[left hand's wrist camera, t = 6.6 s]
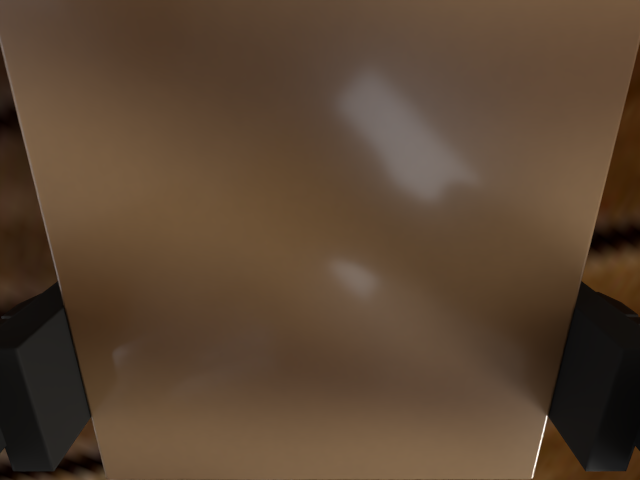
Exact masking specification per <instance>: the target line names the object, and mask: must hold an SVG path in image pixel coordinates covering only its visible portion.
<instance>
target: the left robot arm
mask: <svg viewBox="0 0 640 480" xmlns="http://www.w3.org/2000/svg"><path fill="white" fill-rule="evenodd" d="M90 417H91V414H90V410H89V406H88V402H87V398H86V394H85V390H84V386H83V381H82V377H81V373H80V369H79V365H78V361H77V357H76V353H75V349H74V345H73V341H72V337H71V332H70V328H69V324H68V320H67V316H66V312H65V308H64V304H63V300H62V296H61V292H60V288H59V283H58V282H56V283H55V284H54V285H52V286H51V287H50V288H48V289H47V290H46V291H45V292H43V293H42V294H39V295H37V296H35V297H33V298H31V299H28V300H26V301H24V302H22V303H20V304H18V305H17V306H15V307H14V308H13V309H11V310H10V311H8V312H7V313H6V314H4V315H3V316H2V319H0V453H1V451H2V450H3V449H4V448H5V449H6V452H7V455H8V457H9V460H10V463H11V466H12V469H13V471H54V470H55V469H56V467H57V466H58V464H59V463H60V461H61V460H62V459H63V457H64V456H65V454H66V453H67V451H68V450H69V448H70V447H71V445H72V444H73V442H74V441H75V439H76V438H77V437H78V435H79V434H80V432H81V431H82V429H83V428H84V426H85V425H86V423H87V422H88V420H89V419H90ZM548 417H549V418H550V420H551V421H552V423H553V424H554V425H555V427H556V428H557V430H558V431H559V433H560V434H561V436H562V437H563V439H564V440H565V442H566V443H567V445H568V446H569V447H570V449H571V450H572V452H573V453H574V455H575V456H576V458H577V459H578V461H579V462H580V464H581V465H582V467H583V468H584V469H585V471H626V470H627V467H628V464H629V461H630V459H631V456H632V453H633V450H634V447H635V446H636V447H637V448H638V450H639V451H640V317H638V314H636V313H635V312H634V311H632V310H631V309H630V308H628V307H627V306H626V305H624V304H623V303H621V302H619V301H617V300H615V299H613V298H611V297H608V296H606V295H604V294H602V293H600V292H595V291H594V290H592V289H591V288H590V287H588V286H587V285H586V284H584V283H583V282H582V281H581V284H580V288H579V292H578V296H577V300H576V304H575V308H574V313H573V317H572V321H571V325H570V329H569V333H568V337H567V341H566V345H565V349H564V353H563V357H562V362H561V366H560V370H559V374H558V378H557V382H556V386H555V390H554V394H553V398H552V402H551V406H550V410H549V415H548Z"/></svg>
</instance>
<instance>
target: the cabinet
mask: <svg viewBox="0 0 640 480" xmlns="http://www.w3.org/2000/svg"><path fill="white" fill-rule="evenodd" d="M639 43H640V0H0V47H1V51H2V55H3V59H4V63H5V67H6V71H7V75H8V79H9V83H10V87H11V92H12V96H13V100H14V104H15V108H16V112H17V116H18V120H19V124H20V128H21V132H22V136H23V141H24V145H25V149H26V153H27V157H28V161H29V165H30V169H31V173H32V177H33V181H34V185H35V190H36V194H37V198H38V202H39V206H40V210H41V214H42V218H43V222H44V226H45V230H46V234H47V239H48V243H49V247H50V251H51V255H52V259H53V263H54V267H55V271H56V275H57V279H58V283H59V288H60V292H61V296H62V300H63V304H64V308H65V312H66V316H67V320H68V324H69V328H70V332H71V337H72V341H73V345H74V349H75V353H76V357H77V361H78V365H79V369H80V373H81V377H82V381H83V386H84V390H85V394H86V398H87V402H88V406H89V410H90V414H91V418H92V422H93V426H94V430H95V435H96V439H97V443H98V447H99V451H100V455H101V459H102V463H103V467H104V471H105V475H106V478H107V479H109V480H328V479H532V478H533V476H534V472H535V468H536V464H537V459H538V455H539V451H540V447H541V443H542V439H543V435H544V431H545V427H546V423H547V419H548V415H549V410H550V406H551V402H552V398H553V394H554V390H555V386H556V382H557V378H558V374H559V370H560V366H561V362H562V357H563V353H564V349H565V345H566V341H567V337H568V333H569V329H570V325H571V321H572V317H573V313H574V308H575V304H576V300H577V296H578V292H579V288H580V284H581V280H582V276H583V272H584V268H585V264H586V259H587V255H588V251H589V247H590V243H591V239H592V235H593V231H594V227H595V223H596V219H597V215H598V211H599V206H600V202H601V198H602V194H603V190H604V186H605V182H606V178H607V174H608V170H609V166H610V162H611V157H612V153H613V149H614V145H615V141H616V137H617V133H618V129H619V125H620V121H621V117H622V113H623V108H624V104H625V100H626V96H627V92H628V88H629V84H630V80H631V76H632V72H633V68H634V64H635V60H636V55H637V51H638V47H639Z"/></svg>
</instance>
